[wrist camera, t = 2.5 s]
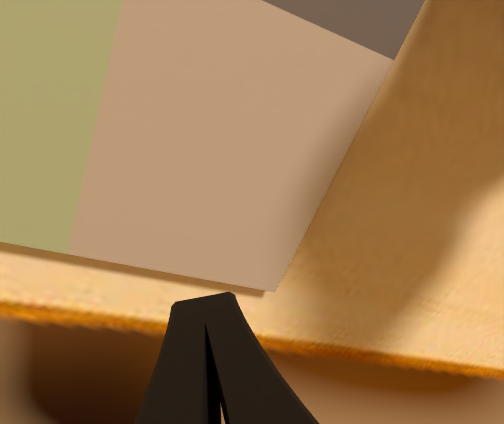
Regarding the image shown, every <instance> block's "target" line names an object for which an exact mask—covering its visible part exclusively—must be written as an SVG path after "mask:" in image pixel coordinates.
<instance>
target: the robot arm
mask: <svg viewBox="0 0 504 424" xmlns="http://www.w3.org/2000/svg"><path fill="white" fill-rule="evenodd" d="M220 403H221V407H222V411H223V416H224V420H225V424H319V423H318V421H317V420H316V419H315V418H314V417H313V416H312V414H311V413H310V412H309V411H308V409H307V408H306V407H305V406H304V404H303V403H302V402H301V401H300V400H299V398H298V397H297V396H296V394H295V393H294V392H293V390H292V389H291V388H290V387H289V385H288V384H287V382H286V381H285V380H284V378H283V377H282V375H281V374H280V373H279V371H278V370H277V369H276V367H275V366H274V364H273V363H272V361H271V360H270V358H269V357H268V355H267V354H266V352H265V351H264V349H263V348H262V346H261V345H260V343H259V341H258V340H257V338H256V337H255V335H254V333H253V332H252V330H251V328H250V326H249V325H248V323H247V321H246V319H245V317H244V315H243V313H242V311H241V309H240V307H239V305H238V302H237V300H236V297H235V295H234V294H232V293H231V292H226V293H220V294H215V295H210V296H204V297H199V298H194V299H188V300H183V301H177V302H175V303H174V304H173V305H172V307H171V312H170V317H169V322H168V326H167V330H166V334H165V337H164V341H163V344H162V347H161V351H160V354H159V357H158V360H157V363H156V365H155V368H154V371H153V374H152V377H151V380H150V383H149V385H148V388H147V391H146V393H145V396H144V398H143V401H142V403H141V406H140V408H139V410H138V413H137V415H136V418H135V420H134V422H133V424H221V407H220Z"/></svg>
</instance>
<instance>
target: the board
mask: <svg viewBox="0 0 504 424" xmlns="http://www.w3.org/2000/svg"><path fill="white" fill-rule="evenodd" d="M424 1H425V0H0V242H4V243H9V244H15V245H20V246H26V247H31V248H36V249H42V250H47V251H53V252H58V253H64V254H69V255H74V256H80V257H85V258H91V259H96V260H102V261H107V262H112V263H118V264H123V265H129V266H134V267H140V268H145V269H150V270H156V271H161V272H167V273H172V274H178V275H183V276H188V277H194V278H199V279H205V280H210V281H216V282H221V283H226V284H232V285H237V286H243V287H248V288H254V289H259V290H264V291H270V292H276V290H277V288H278V286H279V284H280V282H281V280H282V278H283V276H284V274H285V272H286V270H287V268H288V266H289V264H290V262H291V260H292V258H293V257H294V255H295V253H296V251H297V249H298V247H299V245H300V243H301V241H302V239H303V237H304V235H305V233H306V231H307V229H308V227H309V225H310V223H311V221H312V219H313V218H314V216H315V214H316V212H317V210H318V208H319V206H320V204H321V202H322V200H323V198H324V196H325V194H326V192H327V190H328V188H329V186H330V184H331V182H332V180H333V179H334V177H335V175H336V173H337V171H338V169H339V167H340V165H341V163H342V161H343V159H344V157H345V155H346V153H347V151H348V149H349V147H350V145H351V143H352V141H353V140H354V138H355V136H356V134H357V132H358V130H359V128H360V126H361V124H362V122H363V120H364V118H365V116H366V114H367V112H368V110H369V108H370V106H371V104H372V102H373V101H374V99H375V97H376V95H377V93H378V91H379V89H380V87H381V85H382V83H383V81H384V79H385V77H386V75H387V73H388V71H389V69H390V67H391V65H392V63H393V61H394V60H395V58H396V56H397V54H398V52H399V50H400V48H401V46H402V44H403V42H404V40H405V38H406V36H407V34H408V32H409V30H410V28H411V26H412V24H413V22H414V21H415V19H416V17H417V15H418V13H419V11H420V9H421V7H422V5H423V3H424Z"/></svg>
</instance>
